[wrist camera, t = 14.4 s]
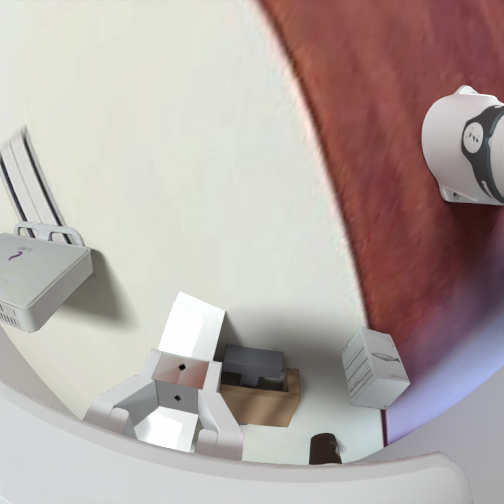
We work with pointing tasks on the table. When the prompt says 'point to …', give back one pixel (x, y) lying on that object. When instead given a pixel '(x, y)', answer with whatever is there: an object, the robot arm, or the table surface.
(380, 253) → the table surface
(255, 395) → the bench
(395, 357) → the supplement box
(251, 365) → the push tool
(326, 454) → the coffee mug
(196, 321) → the white piece
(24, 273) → the network device
